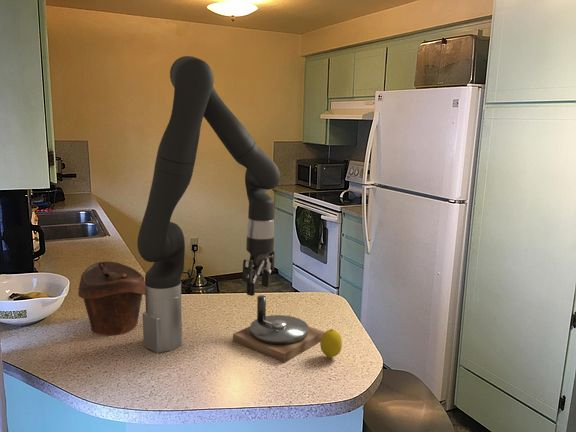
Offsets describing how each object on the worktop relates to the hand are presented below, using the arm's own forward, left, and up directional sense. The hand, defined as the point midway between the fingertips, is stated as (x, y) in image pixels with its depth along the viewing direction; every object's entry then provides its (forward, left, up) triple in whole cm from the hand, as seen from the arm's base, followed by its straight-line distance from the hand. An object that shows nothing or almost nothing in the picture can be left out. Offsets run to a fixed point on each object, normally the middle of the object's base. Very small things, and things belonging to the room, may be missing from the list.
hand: (258, 290), depth 136 cm
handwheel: (+1, -7, -10) cm, 13 cm away
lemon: (+2, -24, -13) cm, 27 cm away
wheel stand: (+1, -7, -13) cm, 15 cm away
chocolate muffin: (-23, +35, -13) cm, 44 cm away
